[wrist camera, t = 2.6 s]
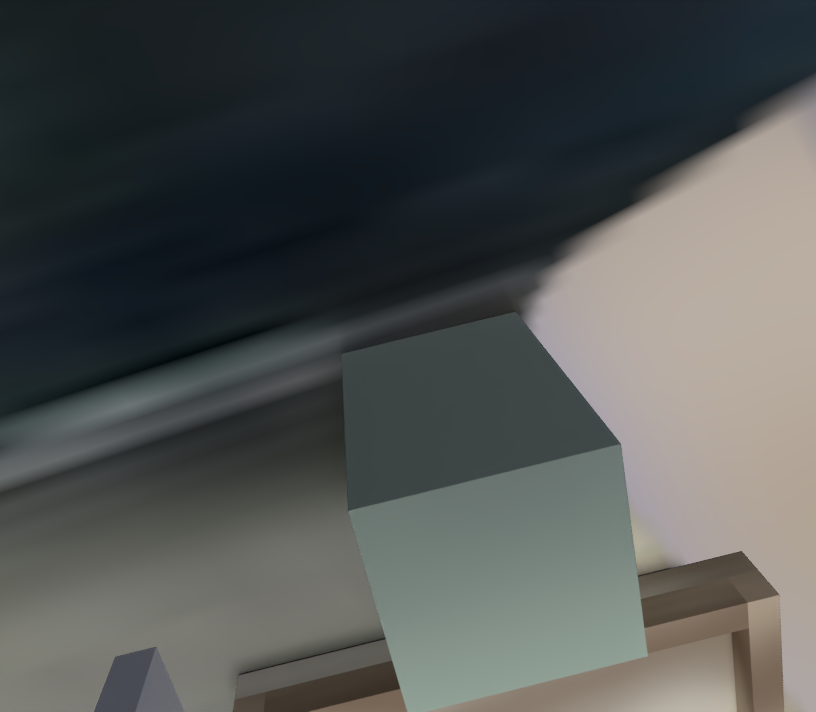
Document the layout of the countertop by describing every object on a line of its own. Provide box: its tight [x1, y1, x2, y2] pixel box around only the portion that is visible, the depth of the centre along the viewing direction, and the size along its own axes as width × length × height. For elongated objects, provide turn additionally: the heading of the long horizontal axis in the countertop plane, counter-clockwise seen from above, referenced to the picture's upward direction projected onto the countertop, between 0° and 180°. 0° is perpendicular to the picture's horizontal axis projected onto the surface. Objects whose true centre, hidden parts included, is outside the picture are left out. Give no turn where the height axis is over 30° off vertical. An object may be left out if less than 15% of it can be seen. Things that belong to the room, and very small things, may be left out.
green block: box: [341, 312, 648, 712], centre depth 18 cm, size 5×5×8 cm
